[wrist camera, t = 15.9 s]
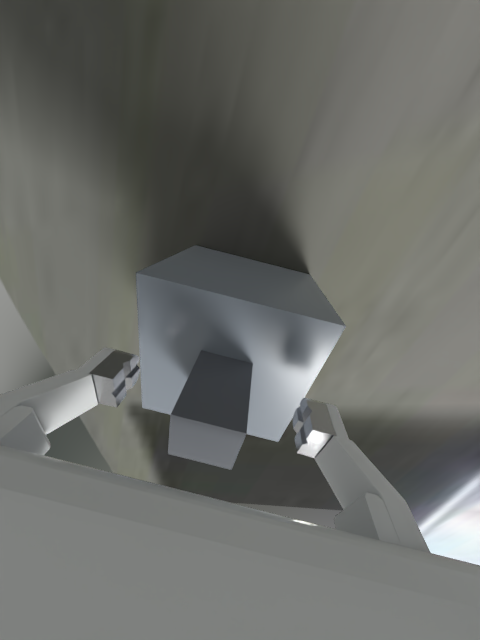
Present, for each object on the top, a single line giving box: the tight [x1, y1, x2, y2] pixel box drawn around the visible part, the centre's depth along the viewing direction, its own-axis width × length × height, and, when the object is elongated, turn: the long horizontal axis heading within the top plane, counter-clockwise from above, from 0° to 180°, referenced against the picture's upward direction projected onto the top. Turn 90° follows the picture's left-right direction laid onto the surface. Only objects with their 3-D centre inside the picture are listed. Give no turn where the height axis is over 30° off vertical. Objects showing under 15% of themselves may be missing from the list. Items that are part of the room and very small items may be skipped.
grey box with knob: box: [136, 245, 346, 470], centre depth 14 cm, size 10×10×13 cm
